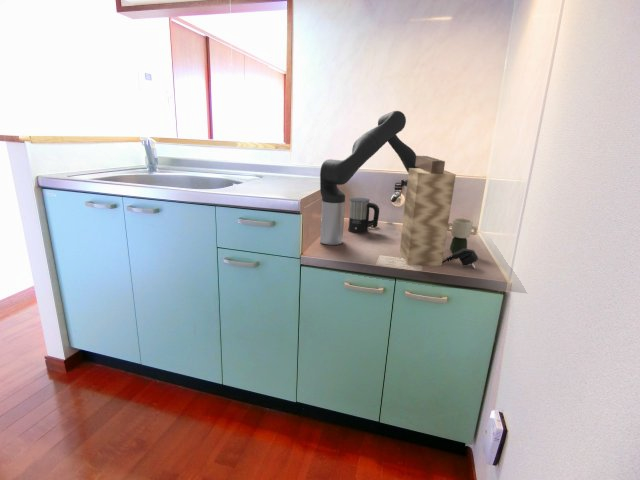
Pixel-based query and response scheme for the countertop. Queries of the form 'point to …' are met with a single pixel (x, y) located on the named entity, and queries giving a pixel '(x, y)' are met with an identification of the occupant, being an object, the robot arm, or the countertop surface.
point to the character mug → (460, 233)
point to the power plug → (464, 257)
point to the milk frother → (362, 215)
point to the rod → (430, 164)
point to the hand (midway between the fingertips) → (418, 183)
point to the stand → (426, 216)
